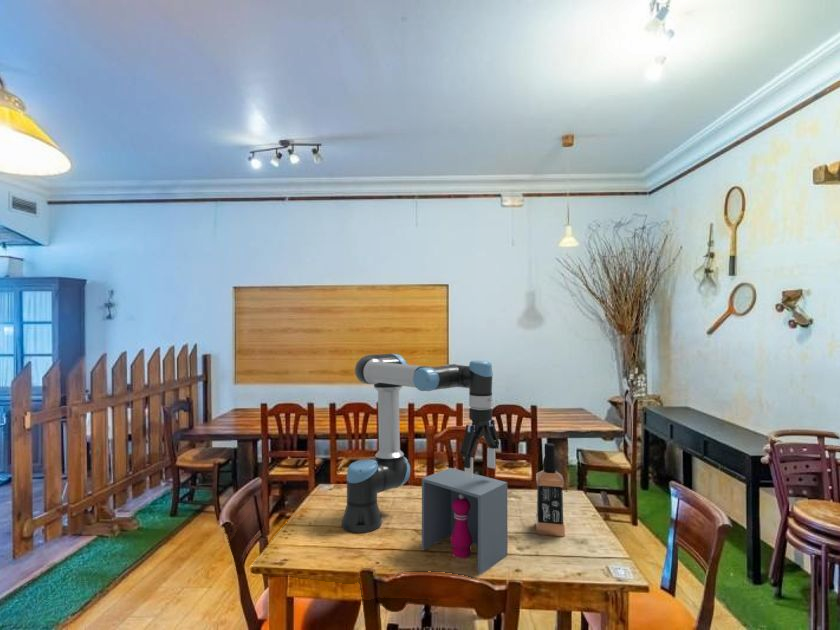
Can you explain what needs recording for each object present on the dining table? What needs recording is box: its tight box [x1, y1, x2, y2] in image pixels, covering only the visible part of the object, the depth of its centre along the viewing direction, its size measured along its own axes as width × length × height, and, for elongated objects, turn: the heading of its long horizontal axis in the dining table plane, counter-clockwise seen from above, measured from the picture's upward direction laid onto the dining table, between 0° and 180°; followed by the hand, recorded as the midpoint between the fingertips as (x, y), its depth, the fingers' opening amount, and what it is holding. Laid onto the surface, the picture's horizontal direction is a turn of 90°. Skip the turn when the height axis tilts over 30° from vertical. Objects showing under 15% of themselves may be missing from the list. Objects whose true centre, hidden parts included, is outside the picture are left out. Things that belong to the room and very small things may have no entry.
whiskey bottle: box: [535, 442, 566, 537], centre depth 171 cm, size 10×10×32 cm
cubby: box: [421, 467, 508, 575], centre depth 154 cm, size 24×16×24 cm, turn 49°
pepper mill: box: [450, 493, 472, 559], centre depth 152 cm, size 7×7×20 cm
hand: (480, 472), depth 150 cm, fingers open, 13 cm apart
